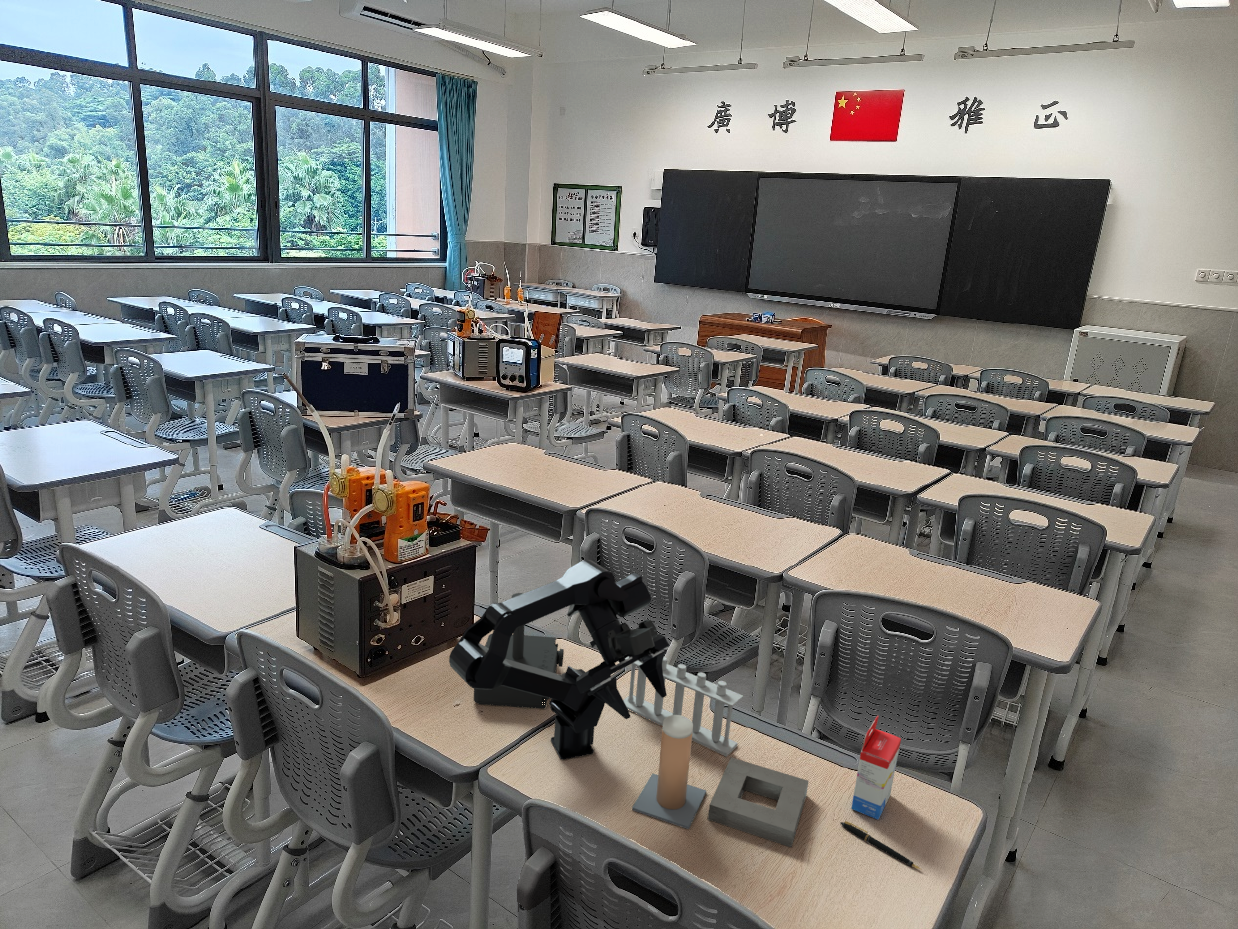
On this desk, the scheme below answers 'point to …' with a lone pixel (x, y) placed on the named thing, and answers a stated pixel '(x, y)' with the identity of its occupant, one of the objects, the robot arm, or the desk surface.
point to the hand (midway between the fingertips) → (646, 707)
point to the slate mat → (675, 816)
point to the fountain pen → (876, 843)
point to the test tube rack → (692, 682)
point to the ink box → (875, 771)
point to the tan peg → (674, 761)
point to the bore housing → (754, 816)
